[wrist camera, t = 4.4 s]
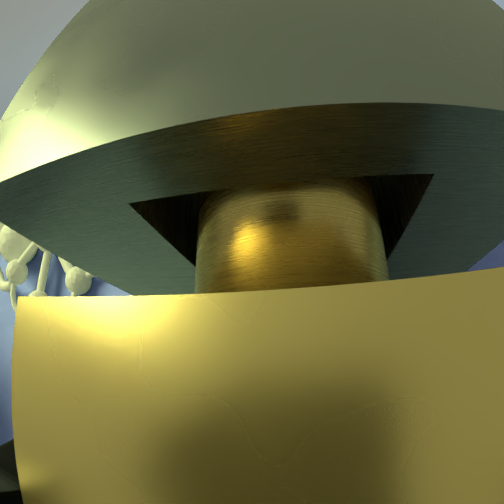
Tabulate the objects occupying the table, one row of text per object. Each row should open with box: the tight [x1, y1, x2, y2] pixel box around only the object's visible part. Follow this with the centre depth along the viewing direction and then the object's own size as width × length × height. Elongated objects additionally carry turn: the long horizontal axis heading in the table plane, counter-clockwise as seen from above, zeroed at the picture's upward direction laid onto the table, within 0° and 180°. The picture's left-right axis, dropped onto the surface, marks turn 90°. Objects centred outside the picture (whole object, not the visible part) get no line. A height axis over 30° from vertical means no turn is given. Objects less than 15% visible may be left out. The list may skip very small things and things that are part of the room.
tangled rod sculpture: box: [0, 222, 95, 313], centre depth 19 cm, size 19×14×4 cm
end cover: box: [11, 176, 504, 504], centre depth 9 cm, size 11×6×12 cm, turn 1°
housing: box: [0, 0, 504, 296], centre depth 11 cm, size 10×12×12 cm
